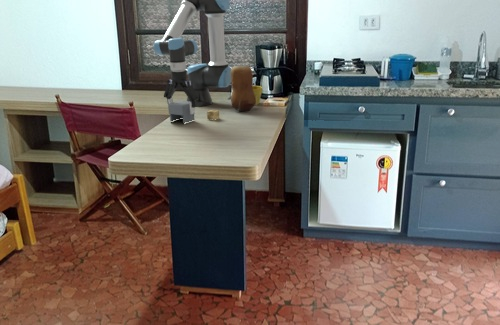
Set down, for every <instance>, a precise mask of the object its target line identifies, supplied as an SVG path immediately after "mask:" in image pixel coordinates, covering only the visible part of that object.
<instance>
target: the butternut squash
mask: <svg viewBox="0 0 500 325" xmlns="http://www.w3.org/2000/svg"><path fill="white" fill-rule="evenodd" d="M253 78H254V77H253V72H252V68H251V66H249V65H246V64H245V65H234V66H233V67H231V83H230V85H231V87H232V91H231V96H230V103H231V106H232V108H235V110H237V111H240V112H248V111H250V110H251V109H252V108H254V106H256V105H255V103H256V99H255V94H254V92H253V88H252V86H254V85H253V83H254V82H253V80H254V79H253Z"/></svg>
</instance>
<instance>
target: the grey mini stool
mask: <svg viewBox="0 0 500 325" xmlns="http://www.w3.org/2000/svg"><path fill="white" fill-rule="evenodd" d="M167 107H168V108H167V109H168V114H169V122H170V121H173V120H176V119H180V118H183V120H182V122H183V123H185V122H189V121H192V120H195V113H194V114H190V104H189V102H188V101H187V100H186V101H185V100H177V101H173V103H170V104H168V103H167ZM195 121H196V120H195ZM183 123H182V124H183Z"/></svg>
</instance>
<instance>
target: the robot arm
mask: <svg viewBox="0 0 500 325" xmlns="http://www.w3.org/2000/svg"><path fill="white" fill-rule="evenodd" d="M229 8H230V0H182V1H181V3H180V5H179V9H178V11H177V13H176V14H175V16H174V18H173V20H172V22H171V23H170V24H169V27H168V28H167V30H166V31H165V34H164V35H163V37H162V39H157V40H155V41H154V43H153V51H154V53H155V54H156V55H159V56H169V65H170V67H169V68H170V75H171V76H170V77H171V78H170V79H166V86H165V90H164V93H163V98H166V99H167V105H168V104H170V103H173V102H174V100H173V96H174V94H175V92H176V90H182V92H184V94H185V95H186V101H188V102H189V104H190V114H194V115H195V114H196V113H195V107H205V106H209V105H212V104H213V99H212V97H211V94H210V91H209V88H220V89H221V88H228V87H229V86H230V85H231V69H232V67H230V66H229V62H227V61H226V47H225V44H226V43H225V28H224V16H225V15H226V13H227V12H226V11H227V10H229ZM201 11H203V12H204V15H205V16H206V17H207V28H208V30H207V31H208V41H209V43H208V44H209V62H208V63H198V64H192V65H188V67H186V66H187V65H186V57H188V56H193V55H195V54H196V53H197V51H198V44H197V42H196V40H194V39H186V40H185V39H184V38H182V37H181V36H182V35H183V33H184V31H185V29H186V28H187V26H188V24H189V23H190V21H191V19H192V17H194V16H195V15H196V14H197V13H198V12H201ZM186 69H187V71H186Z"/></svg>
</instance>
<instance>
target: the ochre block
mask: <svg viewBox="0 0 500 325" xmlns="http://www.w3.org/2000/svg"><path fill="white" fill-rule="evenodd" d="M206 118H207V119H213V120H215V119H218V118H219V119H220V110H219V109H211V110H207V111H206ZM219 119H218V120H219ZM213 120H212V121H213ZM215 121H216V120H215Z"/></svg>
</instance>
